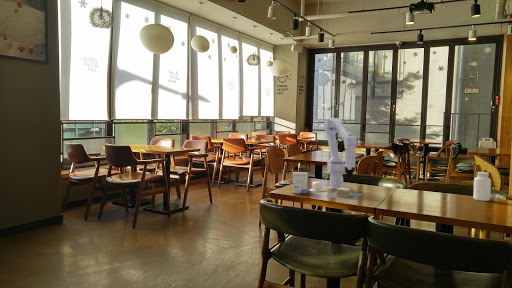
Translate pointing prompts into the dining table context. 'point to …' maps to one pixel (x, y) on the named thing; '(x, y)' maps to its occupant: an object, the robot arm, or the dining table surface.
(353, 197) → the mat
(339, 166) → the robot arm
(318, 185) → the espresso cup
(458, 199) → the dining table surface
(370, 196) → the dining table surface
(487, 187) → the pill bottle
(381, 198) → the dining table surface
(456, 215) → the dining table surface
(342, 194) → the beech block
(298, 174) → the ink box
